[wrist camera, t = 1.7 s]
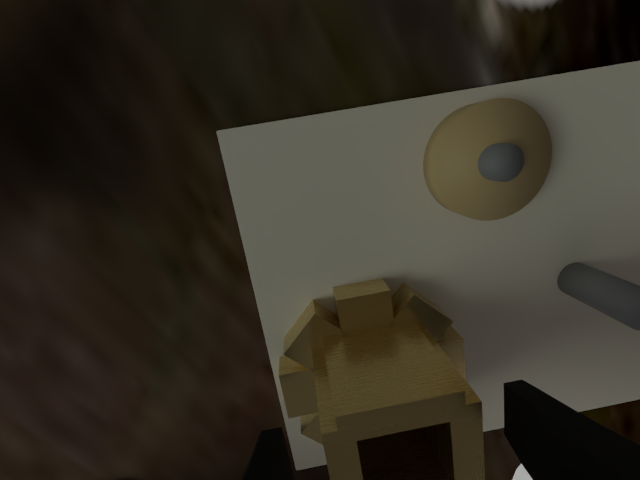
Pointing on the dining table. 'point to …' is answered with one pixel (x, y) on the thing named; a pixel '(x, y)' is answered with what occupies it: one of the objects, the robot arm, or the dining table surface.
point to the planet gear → (383, 387)
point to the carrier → (462, 227)
